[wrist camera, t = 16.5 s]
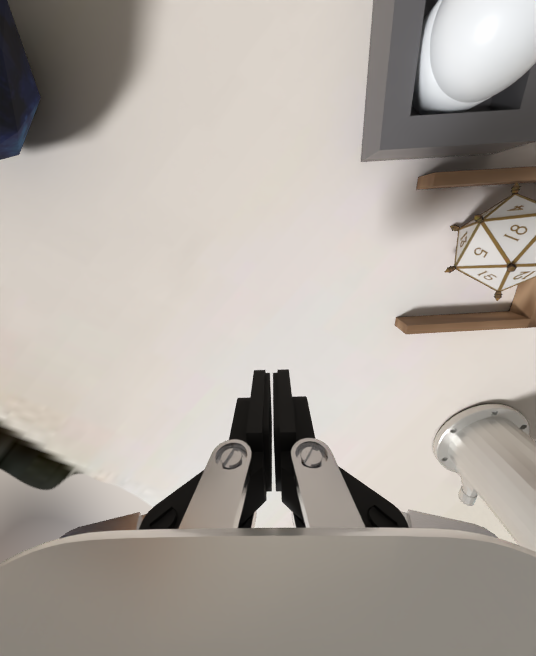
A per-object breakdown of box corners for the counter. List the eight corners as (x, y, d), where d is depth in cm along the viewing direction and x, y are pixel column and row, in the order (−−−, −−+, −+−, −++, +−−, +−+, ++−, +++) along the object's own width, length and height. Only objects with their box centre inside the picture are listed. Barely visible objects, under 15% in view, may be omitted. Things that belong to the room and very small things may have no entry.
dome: (484, 117, 21) (589, 67, 14) (397, 122, 21) (460, 75, 14) (513, -9, 18) (662, -146, 11) (412, -3, 18) (500, -135, 11)
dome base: (492, 154, 23) (537, 140, 19) (360, 161, 23) (379, 150, 19) (542, -45, 18) (614, -114, 14) (375, -34, 18) (404, -100, 14)
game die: (444, 222, 28) (535, 134, 19) (516, 260, 27) (655, 186, 17) (409, 282, 27) (489, 219, 17) (485, 326, 25) (619, 285, 16)
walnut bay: (515, 318, 29) (536, 327, 27) (394, 325, 29) (406, 334, 27) (568, 168, 23) (602, 162, 21) (418, 177, 23) (435, 172, 21)
